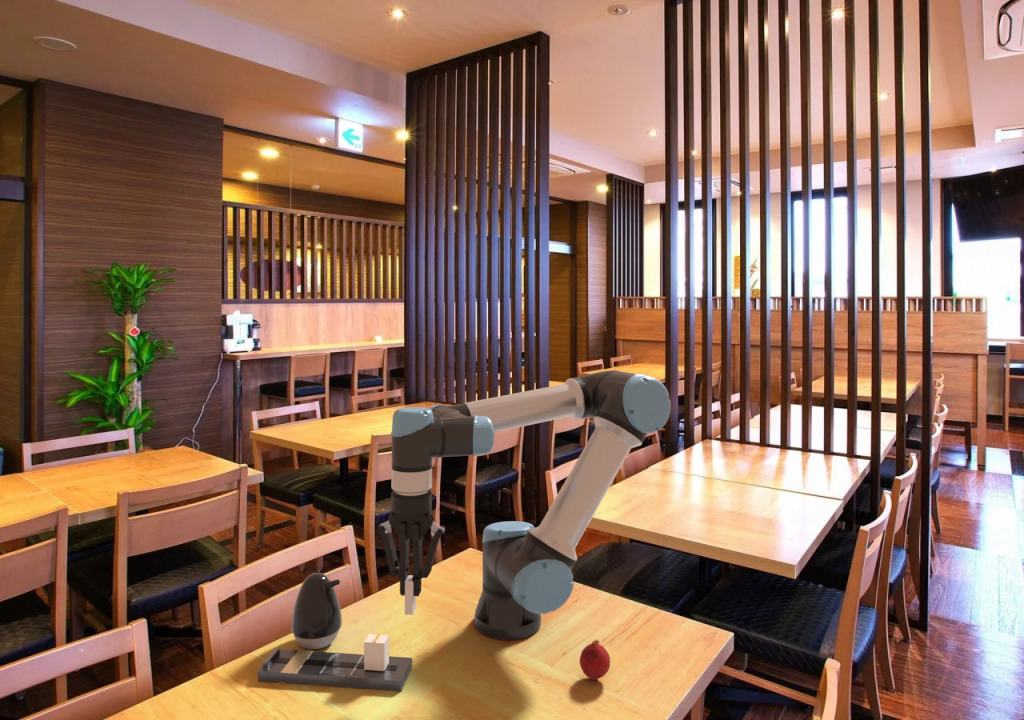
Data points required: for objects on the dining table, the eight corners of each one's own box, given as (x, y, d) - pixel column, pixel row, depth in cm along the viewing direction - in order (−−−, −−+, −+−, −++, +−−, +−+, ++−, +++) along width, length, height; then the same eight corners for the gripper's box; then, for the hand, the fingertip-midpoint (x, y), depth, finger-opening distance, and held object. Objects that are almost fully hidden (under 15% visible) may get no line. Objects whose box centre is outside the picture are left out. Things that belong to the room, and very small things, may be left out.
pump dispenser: (328, 658, 130) (327, 586, 128) (282, 652, 132) (281, 581, 130) (351, 633, 140) (350, 566, 138) (307, 628, 142) (306, 562, 140)
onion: (601, 692, 119) (602, 651, 119) (574, 682, 122) (575, 642, 122) (614, 677, 124) (615, 637, 124) (587, 668, 127) (588, 629, 127)
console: (412, 667, 127) (412, 653, 127) (401, 691, 119) (401, 675, 119) (277, 658, 129) (277, 644, 129) (258, 681, 122) (257, 666, 121)
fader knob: (389, 662, 125) (388, 634, 124) (384, 671, 122) (384, 642, 121) (369, 661, 125) (369, 633, 124) (364, 669, 122) (363, 641, 121)
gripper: (449, 486, 123) (447, 604, 125) (383, 483, 124) (383, 600, 126) (441, 497, 115) (439, 623, 117) (371, 493, 117) (370, 618, 118)
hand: (410, 611), depth 121 cm, fingers closed
